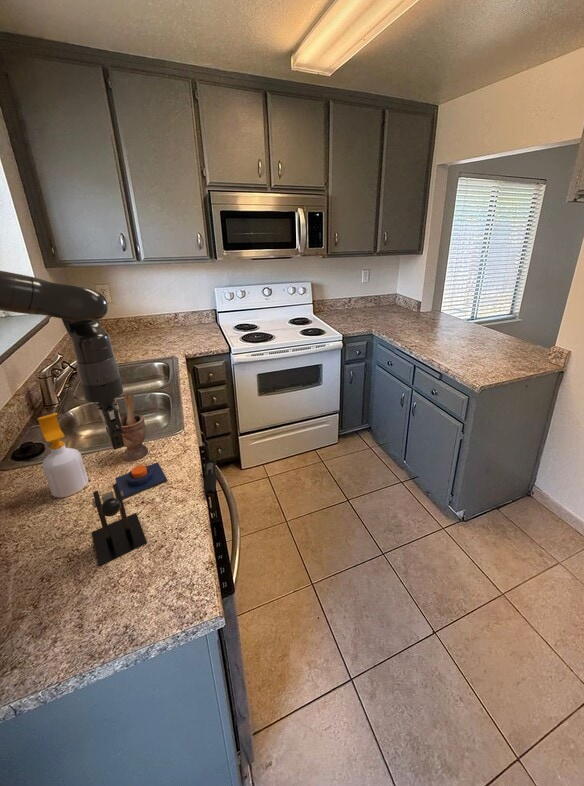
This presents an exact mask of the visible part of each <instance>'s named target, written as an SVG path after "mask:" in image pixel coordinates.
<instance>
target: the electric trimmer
mask: <svg viewBox="0 0 584 786" xmlns="http://www.w3.org/2000/svg"><path fill="white" fill-rule="evenodd" d="M203 466H204V478H203V479H204V480H203V483H204V484H203V485H204V492H205V495H211V494H214V493H215V492H216V488H217V480H218V478H217V475H216V467H217V461H216V460H215V459H213V458H209V459H207V460H205V463H204V465H203Z"/></svg>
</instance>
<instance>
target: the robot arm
mask: <svg viewBox="0 0 584 786" xmlns="http://www.w3.org/2000/svg"><path fill="white" fill-rule="evenodd" d="M108 310H109V303H108V300H107V298H106V297H105V295H103V294H102V293H101V292H100V291H98V290H96V289H94V288H90V287H85V286H81V285H71V284H65V283H58V282H52V281H49V280H45V279H42V278H38V277H35V276H30V275H26V274H25V275H24V274H20V273H15V272H10V271H5V270H0V311H1V312H9V313H15V314H25V315H36V316H46V317H50V318H51V317H52V318H57V319H61V321H62V324H63V326H64V329H65V330H66V332H67V334H68V336H69V338H70V340H71V346H72V350H73V354H74V356H75V361H76V367H77V374H78V378H79V382H80V385H81V390H82V393H83V396H84V397H83V398H84V399H85V401H86V402H88V403H92V404H95V405H96V409H97V412H98V415H99V416H100V417H101V420H102V424H103V427H105V431H106V432H107V434H108V436H109V437H110V441H111V447H112V449H113V450H118V449H122V448H123V447H125V446H124V442H123V438H122V434H123V430H122V427H121V423H120V422H121V415H120V411H119V410H120V406H119V404H118V402H117V399H116V398H119V397H120V396H121V395H122V394H123V392H124V388H123V387H124V386H123V384H122V383H123V382H122V379H121V375H120V370H119V366H118V362H117V360H116V357H115V354H114V349H113V345H112V341H111V337H110V335H109V333H108V332H107V331H106V330H104V328H103V326H102V324H101V322H100V320H102V319H103V318H104V317H105V316H106V314H108ZM116 425H117V426H118V428H117V426H116Z"/></svg>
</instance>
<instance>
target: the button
mask: <svg viewBox="0 0 584 786" xmlns="http://www.w3.org/2000/svg"><path fill="white" fill-rule="evenodd" d="M146 466H147V465H144V464H140V465H137V466H135V467H133V468H132V469H131V470H132V471H131V470H130V471H131V473H132V477H133V478H135V479H136V478H141V477H143V476H145V475H146V474H147V468H146Z"/></svg>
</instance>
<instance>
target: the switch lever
mask: <svg viewBox="0 0 584 786" xmlns="http://www.w3.org/2000/svg"><path fill="white" fill-rule="evenodd" d="M100 497H101V500H102V505H101V513H102V514H103V515H104V516H105V517H107V518H110V517H114V516H115V515H117V514H118V513H120V511H119V510H120V507H121V503H120V501H119V500H118V499H116V497H115V495H114V491H113V490H112V491H108V492H106V493H103V494H101V496H100Z"/></svg>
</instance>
